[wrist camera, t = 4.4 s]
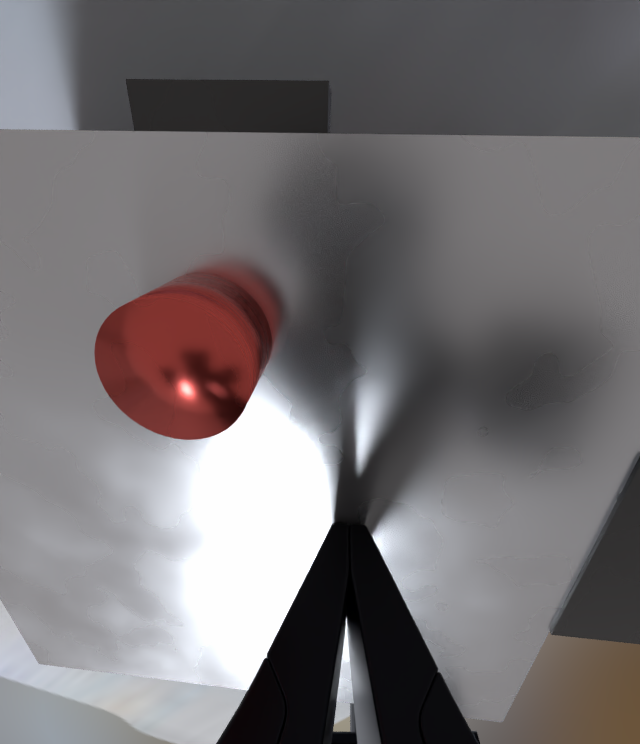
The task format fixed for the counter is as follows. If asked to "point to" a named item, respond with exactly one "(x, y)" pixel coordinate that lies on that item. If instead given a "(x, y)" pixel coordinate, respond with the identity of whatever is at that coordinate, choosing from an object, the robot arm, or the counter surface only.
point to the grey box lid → (317, 392)
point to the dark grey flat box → (230, 105)
